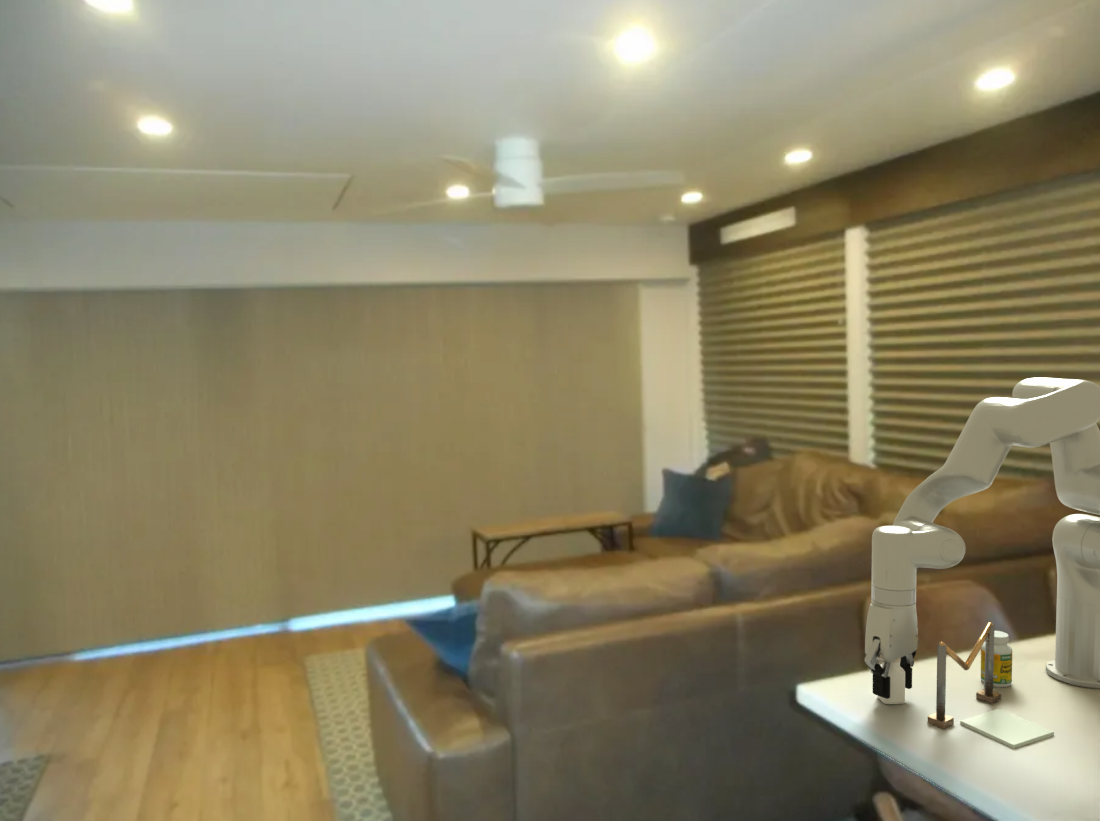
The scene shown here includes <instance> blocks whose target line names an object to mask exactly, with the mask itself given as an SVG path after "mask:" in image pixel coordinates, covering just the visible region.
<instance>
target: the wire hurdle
mask: <svg viewBox="0 0 1100 821" xmlns="http://www.w3.org/2000/svg"><path fill="white" fill-rule="evenodd" d="M994 631H995V625H994V624H993V622H990V621H988V622H987V623H986V624H985V627H984V628H983V630H982V632H981V634H980V635H979V637H978V639H977V641H976V643H975V645H974V646H973V648H972V649H971V651H970V653H969V655H968V657H967V659H966V661H964V660H963V659H962V658H961V657H960V656H959V655H958V654H956V652H954V650H953V649H951V647H949V646H948V645H947V644H946V643H945V642H944V641H939V643H937V644H936V646H937V647H936V649H937V650H936V697H935V698H936V699H935V700H936V703H935V704H936V706H935V707H936V708H935V710H936V712H934V713H932V714H930V715H928V716H927V724H928V725H931V726H934V727H937V728H940V729H943V730H946V729H948V728H949V727H952V726H953V725H954V720H955V718H954V717H953V716H951V715H947V714H946V695H947V694H946V688H947V685H946V684H947V683H946V682H947V679H946V678H947V655H948V656H949V657H950V658H951V659H952V660H953V661H954V662H955V663H956V664H958V665H959V667H961V668H962V669H963V670H964V671H968V670H970V668H971V667H972V664H973V663H974V661H975V659H976V658H977V656H978V654H979V652H980V651H981V647H982V645H983V643H984V642H985V683H984V688H983V689H981V690H979V691H977V692H976V693H975V699H976V700H977V701H980V702H983V703H987V704H990V705H994V704H996V703H998V702H1000V701H1002V693H1001V692H996V691H994V686H993V670H994Z"/></svg>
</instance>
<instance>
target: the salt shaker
mask: <svg viewBox="0 0 1100 821" xmlns="http://www.w3.org/2000/svg"><path fill="white" fill-rule="evenodd" d="M881 658H884V655H882V654H881ZM900 662H901V658H898V659H896V660H893V661H891V664H890V668H889V673H888V676H889V677H890V698H888V699H886V698H883V697H880V696H878V695H876V696H877V697H878V699H880V701H881V702H882V703H883V704H885V705H902V704H905V703H906V688H905V671H904V669H903V668H902V667H900ZM880 665H881V667H882V668H883V666H884V662H882V661H881V664H880Z"/></svg>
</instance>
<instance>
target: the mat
mask: <svg viewBox="0 0 1100 821" xmlns="http://www.w3.org/2000/svg"><path fill="white" fill-rule="evenodd" d="M959 722H960V725H962V726H963V727H966V728H968V729H970V730H972V731H974V732H977V733H980V734H981V735H983V736H985V737H988V738H990V739H993V740H994V741H997V742H999V743H1001V744H1003V745H1005V746H1007V747H1009V748H1012V749H1017V748H1020V747H1022V746H1025V745H1028V744H1031V743H1035V742H1038V741H1040V740H1043V739H1047V738H1049V737H1053V736H1054V735H1055V731H1053V730H1052V729H1049V728H1047V727H1044V726H1042V725H1039V724H1037V723H1036V722H1035V723H1034V722H1032V721H1030V720H1027V719H1025V718H1023V717H1021V716H1018V715H1016V714H1013V713H1010V712H1008V711H1006V710H1003V709H1001V708H998V709H994V710H991V711H987V712H984V713H981V714H977V715H974V716H970V717H967V718H965V719H961V720H960V721H959Z"/></svg>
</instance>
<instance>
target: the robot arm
mask: <svg viewBox="0 0 1100 821" xmlns="http://www.w3.org/2000/svg"><path fill="white" fill-rule="evenodd" d="M1011 396H1012V397H1001V396H994V397H987V398H985V399H982V400H981V401H980V402H978V403H977V404H976V405H975V407H974V408H973V410H972V411H971V414H970V415H969V417H968V419H967V421H966V423H965V425H964V427H963V428H962V430H961V432H960V435H959V436H958V438H957V440H956V442H955V443H954V446H953V448H952V450H951V451H950V453H949V455H948V456H947V458H946V460H945V463H944V464H943V465H942V466H941V467H940V468H939V469H938V470H935V471H934V472H933V473H932V474H930V475H929V476H927V478H926V479H924V480H923V481H922V482H921V483H919V484H918V485H917V486H916V487H915V488H914V489H913V490H912V491H911V492H910V493H909V494H908V495H907V497H906V498H905V500H904V501H903V503H902V505H901V507H900V509H899V510H898V512H897V515H896V517H895V518H894V521H893V523H892V525H882V526H877V527H876V528H875V529H874V530H873V532H872V535H871V591H870V592H871V594H870V595H871V596H870V597H871V603H869V607H868V612H867V618H866V624H865V627H866V628H865V639H864V653H865V657H864V662H865V664H866V665H867V666H868V668H869V669H870V673H871V674H872V694H873V695H876V696H877V695H878V696H880V697H883V698H886V699H888V698H890V677H889V676H888V673H889V668H890V664H891V661H893V660H896V659H898V658H901V662H900V667H902V668H903V669H904V671H905V689H907V690H911V689H912V688H913V667H914V666H915V660H914V659H915V657H916V655H917V651H918V647H919V645H920V644H921V642H920V640H919V637H918V633H919V632H918V631H919V628H918V616H917V615H918V613H917V606H916V605H917V570H918V568H928V569H938V570H942V569H944V570H945V569H949V568H952V567H954V566H956V565H958V564H960V562H961V561H962V560H963V559H964V557H965V554H966V544H965V541H964V539H963V537H962V536H961V535H960V534H959V533H957V532H956V531H955V530H953V529H951V528H949V527H946V526H943V525H939V524H936V523H934V521H935V519H936V517H937V516H938V515H939V513H940V512H941V511H942V510H943V509H945V507H947V506H948V505H949V504H951V503H952V502H954V501H956V500H958V499H961V498H964V497H967V496H970V495H973V494H976V493H979V492H982V491H985V490H987V489H989V488H990V487H991V486H992V484H993V482H994V480H995V478H996V477H997V475H998V472H999V470H1000V468H1001V467H1002V465H1003V463H1004V461H1005V459H1006V458H1007V455H1008V454H1009V452H1010V451H1011V449H1012V446H1013V447H1014V446H1016V447H1021V448H1022V447H1023V448H1028V449H1029V448H1038V447H1043V446H1045V445H1049V447H1050V453H1051V462H1052V468H1053V469H1052V472H1053V480H1054V487H1055V488H1054V489H1055V492H1056V496H1057V498H1058V500H1059V501H1060V503H1061V504H1063V505H1064V506H1066V507H1067V508H1071V509H1073V510H1077V511H1081V512H1085V513H1090V514H1084V513H1074V514H1069V515H1066V516H1064V517H1063V518H1061V519H1059V521H1057V523H1056V524H1055V526H1054V528H1053V530H1052V536H1051V537H1052V539H1051V540H1052V547H1053V553H1054V557H1055V564H1056V574H1057V576H1056V578H1057V581H1056V582H1057V583H1056V585H1057V586H1056V612H1055V613H1056V615H1055V616H1056V617H1055V619H1056V620H1055V621H1056V622H1055V650H1054V651H1055V655H1054V656H1055V658H1054V659H1052V660H1049V661H1047V662H1046V663H1045V671H1046V673H1047V674H1048V675H1050V676H1051V677H1052V678H1054V679H1056V680H1057V681H1060V682H1062V683H1063V682H1064V683H1066V684H1069V685H1074V686H1078V687H1083V688H1090V689H1100V428H1099V425H1098V424H1097V423H1098V422H1100V385H1099V384H1097V383H1095V382H1094V381H1091V380H1086V379H1074V378H1058V377H1041V376H1040V377H1030V378H1029V377H1028V378H1025V379H1023V380H1020V381H1019V382H1018V383H1016V384H1015V386H1014V387H1013V389H1012V395H1011ZM1091 514H1094V515H1091ZM1095 515H1098V516H1095ZM882 655H884V658H882ZM880 662H881V663H882V662H884V666H883V668H882V667H881V664H880ZM878 696H877V697H878Z"/></svg>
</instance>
